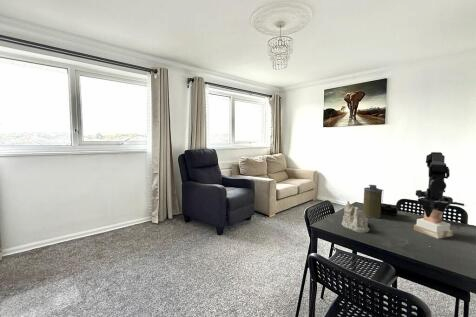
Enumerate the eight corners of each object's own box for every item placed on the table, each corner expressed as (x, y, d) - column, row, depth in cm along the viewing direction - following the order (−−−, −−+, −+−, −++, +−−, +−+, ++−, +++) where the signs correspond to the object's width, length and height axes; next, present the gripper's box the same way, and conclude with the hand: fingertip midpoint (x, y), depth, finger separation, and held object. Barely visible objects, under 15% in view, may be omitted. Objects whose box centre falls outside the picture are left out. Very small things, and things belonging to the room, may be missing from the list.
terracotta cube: (430, 218, 130) (431, 208, 129) (441, 222, 125) (442, 211, 124) (423, 219, 128) (424, 209, 128) (434, 223, 123) (435, 213, 122)
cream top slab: (428, 223, 132) (429, 217, 132) (449, 230, 123) (450, 223, 123) (416, 225, 129) (416, 219, 129) (436, 232, 120) (437, 225, 120)
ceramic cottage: (358, 233, 125) (360, 205, 124) (335, 223, 140) (337, 198, 139) (379, 231, 130) (381, 204, 129) (355, 222, 145) (357, 198, 145)
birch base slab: (428, 228, 134) (428, 222, 134) (453, 236, 123) (453, 230, 123) (413, 230, 130) (413, 224, 130) (437, 240, 119) (438, 233, 119)
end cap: (397, 214, 155) (398, 204, 155) (397, 217, 150) (398, 207, 149) (379, 211, 161) (380, 202, 160) (379, 214, 155) (379, 204, 154)
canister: (361, 215, 152) (362, 185, 150) (363, 211, 161) (365, 182, 159) (380, 219, 146) (382, 187, 144) (382, 214, 154) (384, 185, 152)
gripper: (431, 183, 135) (429, 209, 136) (408, 185, 129) (406, 213, 130) (454, 187, 124) (451, 216, 126) (430, 190, 118) (428, 220, 120)
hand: (433, 216), depth 126 cm, fingers open, 9 cm apart
